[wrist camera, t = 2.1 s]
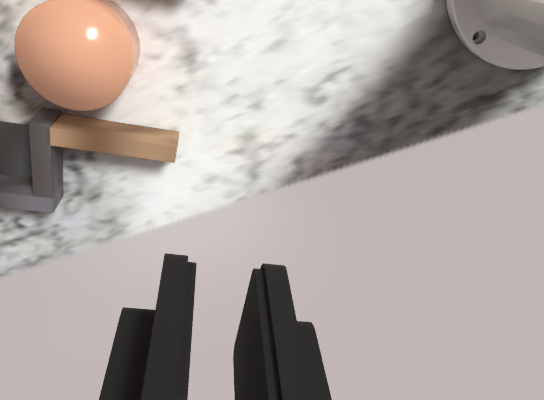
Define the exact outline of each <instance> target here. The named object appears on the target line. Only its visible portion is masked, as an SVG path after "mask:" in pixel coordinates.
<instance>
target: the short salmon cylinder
mask: <svg viewBox="0 0 544 400" xmlns="http://www.w3.org/2000/svg"><path fill="white" fill-rule="evenodd" d="M15 54H16V59H17V62H18V65H19V67H20V70H21V72H22V74H23V75H24V77H25V79H26V80H27V81H28V83H29V84H30V85H31V86H32V87H33V88H34V90H36V91H37V92H38V93H39V94H40V95H41V96H43V97H44V98H45V99H47V100H48V101H50V102H52V103H54V104H56V105H58V106H61V107H64V108H67V109H71V110H78V111H89V110H95V109H98V108H102V107H104V106H106V105H108V104H109V103H111V102H113V101H114V100H115V99H116V98H117V97H118V96H119V95H120V94H121V92H122V91H123V89H124V88H125V86H126V84H127V82H128V81H129V79H130V77H131V76H132V74H133V72H134V70H135V69H136V66H137V64H138V61H139V56H140V43H139V37H138V34H137V31H136V28H135V26H134V24H133V22H132V20H131V19H130V18H129V16H128V15H127V14H126V12H125V11H124V10H123V9H122V8H121V7H120V6H119V5H118V4H116V3H115V2H113V1H112V0H49V1H46V2H44V3H42V4H40V5H38V6H36V7H34V8H33V9H31V10H30V11H29V12H28V13H27V14H26V15H25V16H24V17H23V19H22V20H21V22H20V24H19V26H18V28H17V31H16V35H15Z"/></svg>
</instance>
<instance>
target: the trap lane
mask: <svg viewBox="0 0 544 400" xmlns="http://www.w3.org/2000/svg"><path fill="white" fill-rule="evenodd" d="M178 137H179V132H177V131H170V130H164V129H157V128H151V127H144V126H138V125H131V124H125V123H118V122H112V121H105V120H99V119H92V118H86V117H79V116H73V115H66V114H62V112H61V111H59V110H52V109H46V108H42V109H41V110H40V111H39V112H38V113H37V114H36V115H35V116H34V117H33V118H32V119H31V120H30V121H29V125H23V124H16V123H9V122H2V121H0V207H2V208H11V209H20V210H29V211H37V212H46V213H53V212H54V210H55V209H56V207H57V205H58V203H59V202H60V200H61V198H62V196H63V157H62V147H66V148H73V149H80V150H87V151H94V152H101V153H109V154H116V155H123V156H130V157H137V158H144V159H151V160H158V161H165V162H173V163H174V162H175V157H176V152H177V146H178Z"/></svg>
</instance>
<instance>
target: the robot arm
mask: <svg viewBox="0 0 544 400" xmlns="http://www.w3.org/2000/svg"><path fill="white" fill-rule="evenodd" d="M446 3H447V11H448V14H449V17H450V20H451V24H452V27H453V29H454V30H455V32H456V34H457V36H458V37H459V39H460V41H461V42H462V43H463V44H464V45H465V46H466V47H467V48H468V49H469V50H470V51H471V52H472V53H473V54H475V55H476V56H478V57H480V58H481V59H483V60H484V61H487V62H489V63H491V64H494V65H496V66H498V67H503V68H508V69H533V68H538V67H543V66H544V0H446ZM475 33H476V35H475V37H474V38H473V36H474V34H475ZM195 276H196V263H193V262H188V256H185V255H175V254H165V256H164V262H163V268H162V275H161V280H160V286H159V293H158V299H157V304H156V310H148V309H135V308H123V309H122V311H121V315H120V319H119V323H118V327H117V331H116V334H115V338H114V342H113V346H112V350H111V354H110V358H109V362H108V367H107V370H106V374H105V378H104V382H103V386H102V390H101V394H100V398H99V400H187V397H188V382H189V367H190V352H191V337H192V321H193V306H194V291H195ZM233 358H234V359H233V360H234V387H235V388H234V390H235V400H332V399H331V395H330V391H329V387H328V382H327V378H326V374H325V370H324V366H323V362H322V357H321V353H320V349H319V345H318V340H317V337H316V332H315V329H314V326H313V324H312V323H311V322H301V321H300V322H299V321H297V320H296V315H295V310H294V305H293V300H292V295H291V290H290V285H289V280H288V275H287V270H286V267H285V266H282V265H272V264H262V266H261V268H260V269H253V271H252V275H251V280H250V283H249V287H248V292H247V296H246V300H245V304H244V308H243V313H242V317H241V321H240V325H239V329H238V333H237V338H236V341H235V346H234V357H233Z"/></svg>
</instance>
